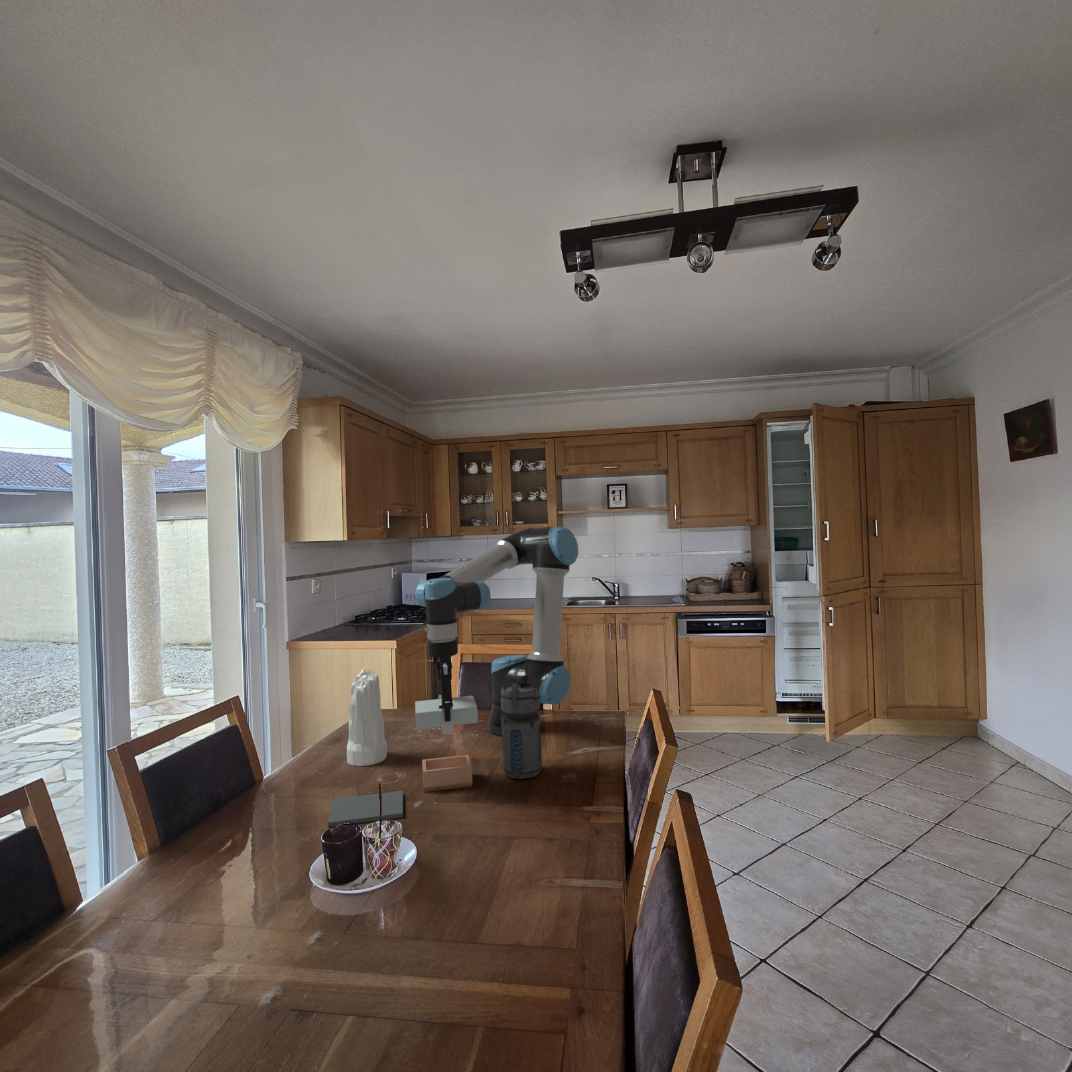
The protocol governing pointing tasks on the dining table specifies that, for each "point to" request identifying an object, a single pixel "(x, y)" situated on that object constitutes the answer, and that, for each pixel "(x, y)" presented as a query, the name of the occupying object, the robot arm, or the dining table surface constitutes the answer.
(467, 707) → the board
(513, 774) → the beverage bottle
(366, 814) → the mat
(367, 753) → the white ridged column
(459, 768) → the brown open box
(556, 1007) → the dining table surface
